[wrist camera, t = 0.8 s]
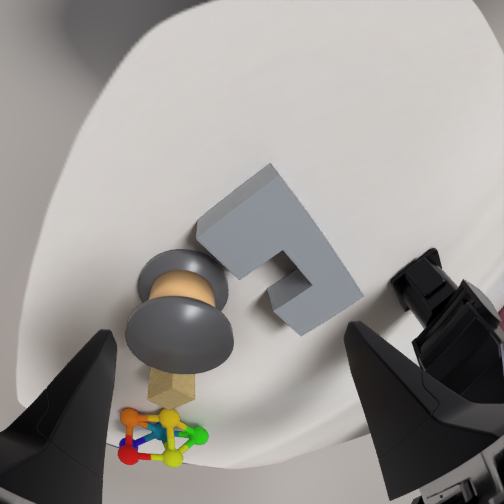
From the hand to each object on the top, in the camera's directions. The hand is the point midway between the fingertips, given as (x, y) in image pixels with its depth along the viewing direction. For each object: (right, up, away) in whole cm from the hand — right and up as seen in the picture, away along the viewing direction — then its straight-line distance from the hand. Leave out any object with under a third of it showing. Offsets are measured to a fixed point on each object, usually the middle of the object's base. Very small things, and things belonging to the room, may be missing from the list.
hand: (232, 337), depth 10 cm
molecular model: (-14, -23, +29) cm, 39 cm away
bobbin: (-5, 0, +15) cm, 16 cm away
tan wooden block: (-8, -8, +20) cm, 23 cm away
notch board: (+4, +3, +15) cm, 15 cm away
